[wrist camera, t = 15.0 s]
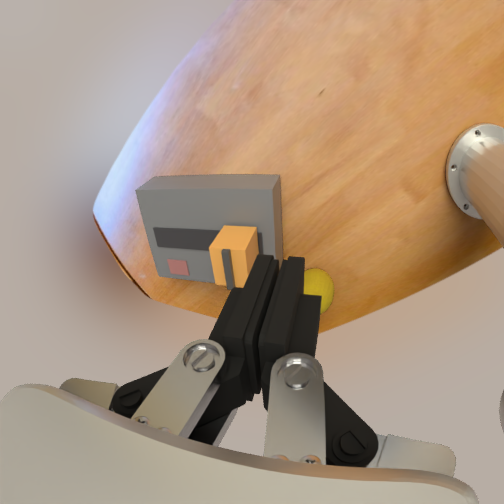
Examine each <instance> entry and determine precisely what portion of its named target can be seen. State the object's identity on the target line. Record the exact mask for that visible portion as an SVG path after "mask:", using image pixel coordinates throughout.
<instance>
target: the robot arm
mask: <svg viewBox="0 0 504 504" xmlns="http://www.w3.org/2000/svg"><path fill="white" fill-rule="evenodd" d="M475 131H476V133H475ZM452 165H453V167H452V168H451V166H452ZM446 181H447V186H448V189H449V192H450V195H451V197H452V198H453V200H454V202H455V203H456V204H457V206H458V207H459V208H460V209H461V210H462V211H463V212H464V213H466V214H467V215H469V216H471V217H473V218H476V219H483V220H484V222H485V223H486V224H487V226H488V227H489V228H490V230H491V231H492V232H493V234H494V235H495V236H496V238H497V239H498V241H499V242H500V244H501V245H502V246H503V248H504V128H502V127H500V126H498V125H495V124H491V123H481V124H476V125H473V126H471V127H470V128H468V129H466V130H465V131H464V132H463V133H461V134H460V135H459V137H458V138H457V139H456V140H455V142H454V144H453V146H452V147H451V149H450V152H449V155H448V158H447V164H446ZM464 204H465V205H464ZM304 267H305V259H304V257H291V256H289V258H288V260H283V261H282V264H281V267H280V270H279V260H277V259H274V256H273V255H264V254H258V255H257V257H256V259H255V261H254V264H253V266H252V268H251V271H250V273H249V275H248V278H247V280H246V282H245V285H244V287H243V288H237V287H234V288H233V289H232V290H231V292H230V294H229V296H228V298H227V300H226V303H225V305H224V307H223V309H222V311H221V313H220V315H219V317H218V320H217V322H216V324H215V326H214V328H213V330H212V332H211V334H210V337H209V339H208V340H207V339H204V340H197V341H193V342H191V343H189V344H188V345H186V346H185V347H184V348H183V349H182V350H181V351H180V353H179V354H178V355H177V357H176V358H175V359H174V361H173V362H172V363H171V365H170V366H169V367H167V368H164V369H162V370H159V371H157V372H154V373H152V374H150V375H147V376H145V377H142V378H140V379H137V380H134V381H132V382H129V383H127V384H125V385H123V386H121V387H119V386H118V385H117V384H114V383H106V382H98V381H91V380H84V379H78V378H71V379H69V380H66V381H65V382H64V383H63V384H62V385H61V386H60V388H56V387H52V386H48V385H42V384H24V385H20V386H17V387H15V388H13V389H12V390H11V391H10V392H9V393H7V395H6V396H5V397H4V398H3V399H2V400H1V402H0V504H479V501H478V498H477V495H476V494H475V492H474V490H473V489H472V488H471V487H470V486H469V485H467V484H466V483H464V482H462V481H460V480H458V479H456V478H453V476H454V471H455V466H456V457H455V455H454V452H453V451H452V450H451V449H450V448H449V447H447V446H444V445H441V444H435V443H429V442H424V441H419V440H413V439H408V438H404V437H399V436H394V435H390V434H388V435H387V436H383V435H379V434H375V433H374V431H373V430H372V429H371V428H370V427H369V426H368V425H367V424H366V423H365V422H364V421H363V420H362V419H361V418H360V417H359V416H358V415H357V414H356V413H355V412H354V411H353V410H352V409H351V408H350V407H349V406H348V405H347V404H346V403H345V402H344V401H343V400H342V399H341V398H340V397H339V396H338V395H337V394H336V393H335V392H334V391H333V390H332V389H331V388H330V387H329V386H328V385H327V384H326V383H325V382H324V379H323V370H322V366H321V364H320V363H319V362H318V360H316V359H315V351H316V344H317V337H318V330H319V321H320V312H321V301H322V296H320V295H309V294H304ZM261 388H262V393H263V402H264V408H265V409H266V410H267V412H268V415H267V426H266V436H265V446H264V447H265V448H264V456H263V457H262V456H257V455H252V454H247V453H242V452H237V451H233V450H229V449H224V448H220V447H218V446H219V444H220V442H221V440H222V439H223V437H224V435H225V433H226V431H227V430H228V428H229V426H230V424H231V422H232V420H233V419H234V417H235V415H236V413H237V409H238V407H240V406H242V405H244V404H245V403H246V400H247V401H252V400H253V396H254V393H255V394H260V391H261ZM499 413H500V421H501V426H502V429H503V432H504V391H503V393H502V397H501V401H500V409H499Z"/></svg>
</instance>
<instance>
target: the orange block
mask: <svg viewBox="0 0 504 504" xmlns="http://www.w3.org/2000/svg"><path fill="white" fill-rule="evenodd" d="M209 251H210V257H211V262H212V268H213V273H214V278H215V284H216V285H224V286H227V289H228V290H232V289H233V288H234V287H244V285H245V282H246V280H247V278H248V275H249V273H250V271H251V268H252V266H253V264H254V261H255V259H256V257H257V255H258V254H259V249H258V237H257V227H247V226H226V225H224V226H223V228H222V229H221V231H220V232H219V233H218V235H217V236H216V238H215V239H214V241H213V242H212V244H211V245H210V247H209Z"/></svg>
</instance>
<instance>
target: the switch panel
mask: <svg viewBox="0 0 504 504" xmlns="http://www.w3.org/2000/svg"><path fill="white" fill-rule="evenodd" d="M136 195H137V199H138V203H139V207H140V211H141V215H142V219H143V223H144V226H145V230H146V234H147V237H148V241H149V245H150V248H151V252H152V255H153V258H154V262H155V265H156V269H157V272H158V275H159V276H160V277H168V278H176V279H184V280H193V281H201V282H210V283H215V278H214V273H213V268H212V262H211V257H210V251H209V247H210V245H211V244H212V242H213V241H214V239H215V238H216V236H217V235H218V233H219V232H220V231H221V229H222V228H223V226H224V225H226V226H247V227H257V237H258V249H259V254H264V255H273V256H274V259H277V260H279V270H280V267H281V264H282V261H283V237H282V210H281V186H280V175H263V174H220V175H180V176H158V177H153V178H152V179H150V180H149V181H148V182H146V183H145V184H143V185H142V186H141V187H139V188H138V189H136Z"/></svg>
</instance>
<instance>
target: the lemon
mask: <svg viewBox="0 0 504 504" xmlns="http://www.w3.org/2000/svg"><path fill="white" fill-rule="evenodd" d="M304 294H309V295H320V296H322V301H321V312H320V314H322V313H324V312H325V311H326V310H327V309H328V308H329V306H330V305H331V303H332V300H333V297H334V283H333V281H332V278H331V277H330V276H329V274H328V273H326V272H325V271H323V270H321V269H317V268H312V269H308V270H306V271H304Z"/></svg>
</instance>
